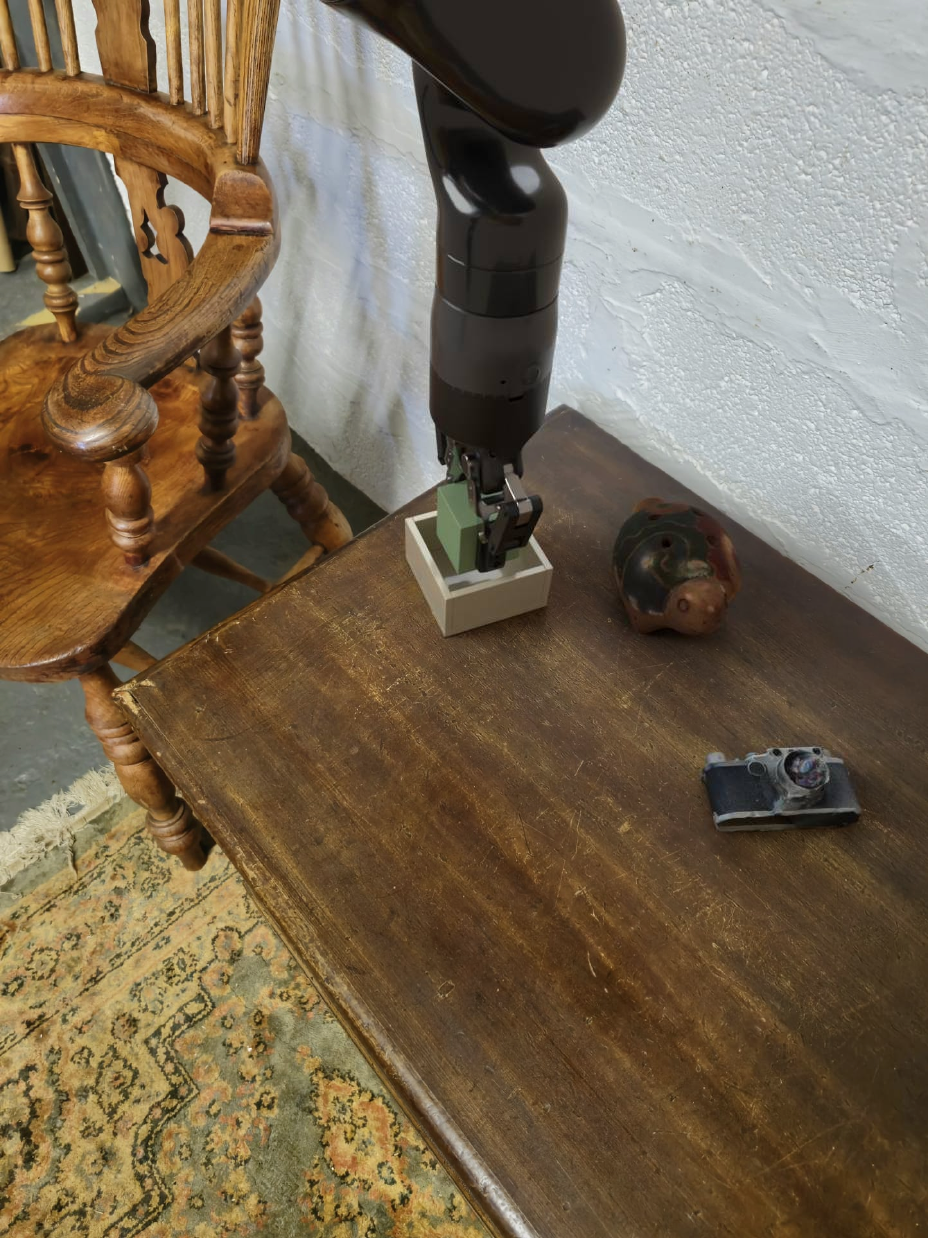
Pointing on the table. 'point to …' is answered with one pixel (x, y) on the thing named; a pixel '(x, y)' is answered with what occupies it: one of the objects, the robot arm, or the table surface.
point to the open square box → (474, 581)
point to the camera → (780, 790)
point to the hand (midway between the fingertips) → (476, 543)
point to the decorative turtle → (675, 568)
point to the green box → (460, 526)
